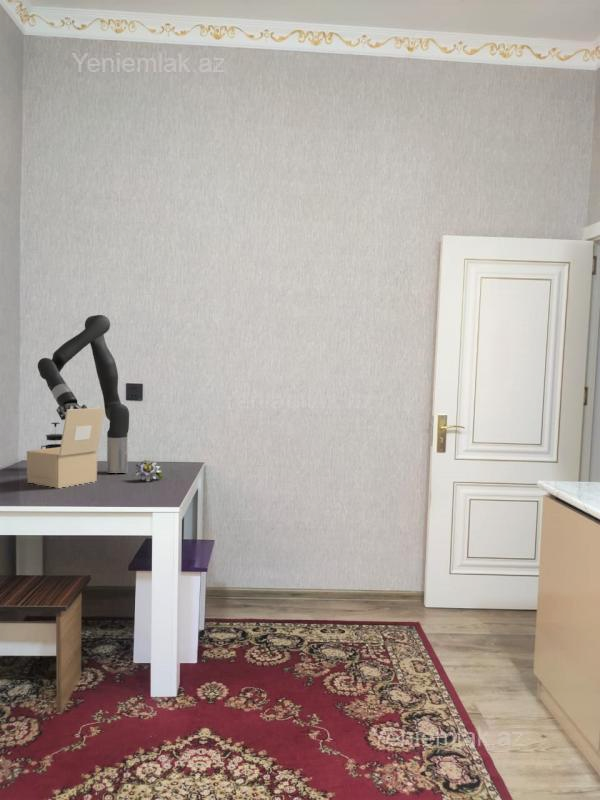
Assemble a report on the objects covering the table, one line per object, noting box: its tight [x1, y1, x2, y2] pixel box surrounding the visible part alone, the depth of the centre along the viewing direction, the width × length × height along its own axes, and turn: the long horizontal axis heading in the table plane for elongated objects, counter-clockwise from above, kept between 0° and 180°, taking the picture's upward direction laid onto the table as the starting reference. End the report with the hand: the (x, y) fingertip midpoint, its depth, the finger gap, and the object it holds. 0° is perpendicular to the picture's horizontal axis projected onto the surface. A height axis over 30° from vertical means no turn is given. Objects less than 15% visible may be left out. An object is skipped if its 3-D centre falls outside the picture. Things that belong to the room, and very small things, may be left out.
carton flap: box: [59, 407, 105, 456], centre depth 274 cm, size 20×19×1 cm
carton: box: [26, 447, 98, 489], centre depth 282 cm, size 21×21×14 cm
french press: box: [40, 422, 63, 449], centre depth 315 cm, size 12×9×23 cm
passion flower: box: [134, 458, 164, 482], centre depth 291 cm, size 11×11×12 cm
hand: (82, 425), depth 274 cm, fingers open, 8 cm apart
